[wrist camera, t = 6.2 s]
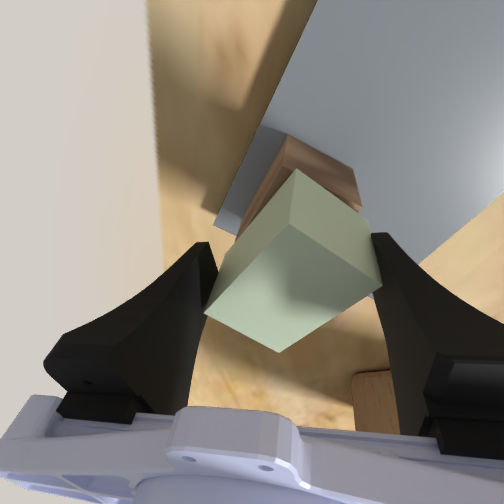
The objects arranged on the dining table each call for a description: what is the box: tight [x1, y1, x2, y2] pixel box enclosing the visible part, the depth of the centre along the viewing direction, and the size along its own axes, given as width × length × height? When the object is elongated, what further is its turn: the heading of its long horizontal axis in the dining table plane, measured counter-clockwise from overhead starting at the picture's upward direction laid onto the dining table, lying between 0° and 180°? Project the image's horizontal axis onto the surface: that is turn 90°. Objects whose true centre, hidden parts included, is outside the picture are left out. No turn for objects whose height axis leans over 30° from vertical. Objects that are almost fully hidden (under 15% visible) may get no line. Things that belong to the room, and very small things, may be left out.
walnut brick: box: [235, 134, 363, 242], centre depth 16 cm, size 4×6×4 cm, turn 155°
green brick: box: [204, 168, 383, 353], centre depth 13 cm, size 4×6×4 cm, turn 147°
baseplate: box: [213, 0, 504, 299], centre depth 17 cm, size 13×16×1 cm
